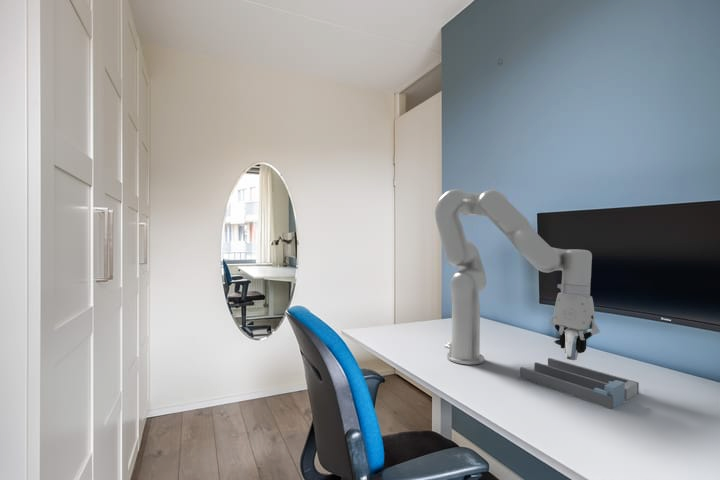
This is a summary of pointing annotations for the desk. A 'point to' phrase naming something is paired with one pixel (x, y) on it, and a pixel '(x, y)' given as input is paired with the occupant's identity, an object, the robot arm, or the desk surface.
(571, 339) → the milkshake
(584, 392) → the grey divided tray
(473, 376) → the desk surface
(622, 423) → the desk surface
